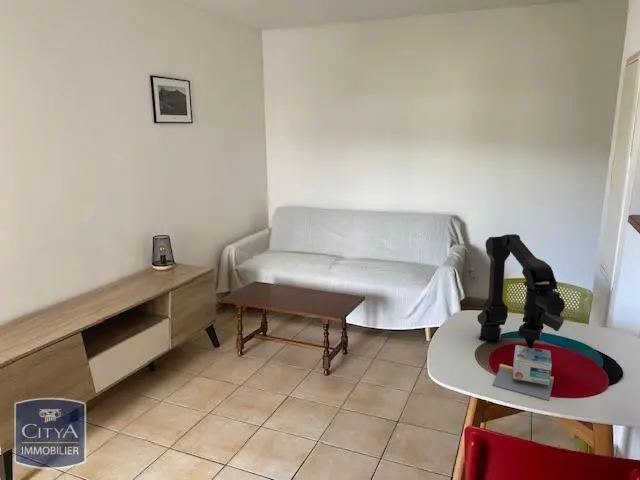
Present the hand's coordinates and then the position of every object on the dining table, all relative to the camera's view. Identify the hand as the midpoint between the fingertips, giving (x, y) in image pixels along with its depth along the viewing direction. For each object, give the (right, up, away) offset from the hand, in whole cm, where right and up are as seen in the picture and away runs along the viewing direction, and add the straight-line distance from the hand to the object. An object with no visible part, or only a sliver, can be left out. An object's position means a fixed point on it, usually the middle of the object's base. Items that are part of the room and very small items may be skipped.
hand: (530, 347), depth 153 cm
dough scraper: (-5, -10, -5) cm, 12 cm away
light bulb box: (+1, -3, +1) cm, 3 cm away
